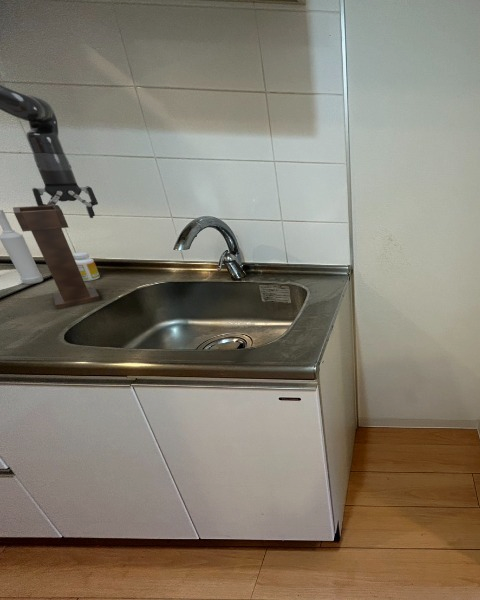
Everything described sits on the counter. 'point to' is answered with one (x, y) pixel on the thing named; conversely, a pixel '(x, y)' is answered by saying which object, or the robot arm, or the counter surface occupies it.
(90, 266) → the supplement bottle
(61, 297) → the holder
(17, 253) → the bottle
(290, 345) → the counter surface
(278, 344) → the counter surface
